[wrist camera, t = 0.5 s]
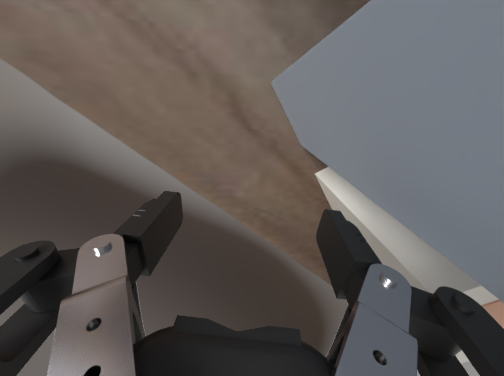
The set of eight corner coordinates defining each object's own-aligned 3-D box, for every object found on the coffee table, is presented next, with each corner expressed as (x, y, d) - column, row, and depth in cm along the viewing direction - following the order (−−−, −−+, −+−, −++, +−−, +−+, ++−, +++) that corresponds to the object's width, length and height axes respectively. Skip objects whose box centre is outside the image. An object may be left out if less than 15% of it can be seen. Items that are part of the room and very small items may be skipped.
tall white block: (333, 213, 35) (456, 366, 14) (314, 173, 31) (439, 302, 11) (405, 178, 32) (672, 305, 12) (392, 131, 29) (733, 200, 9)
